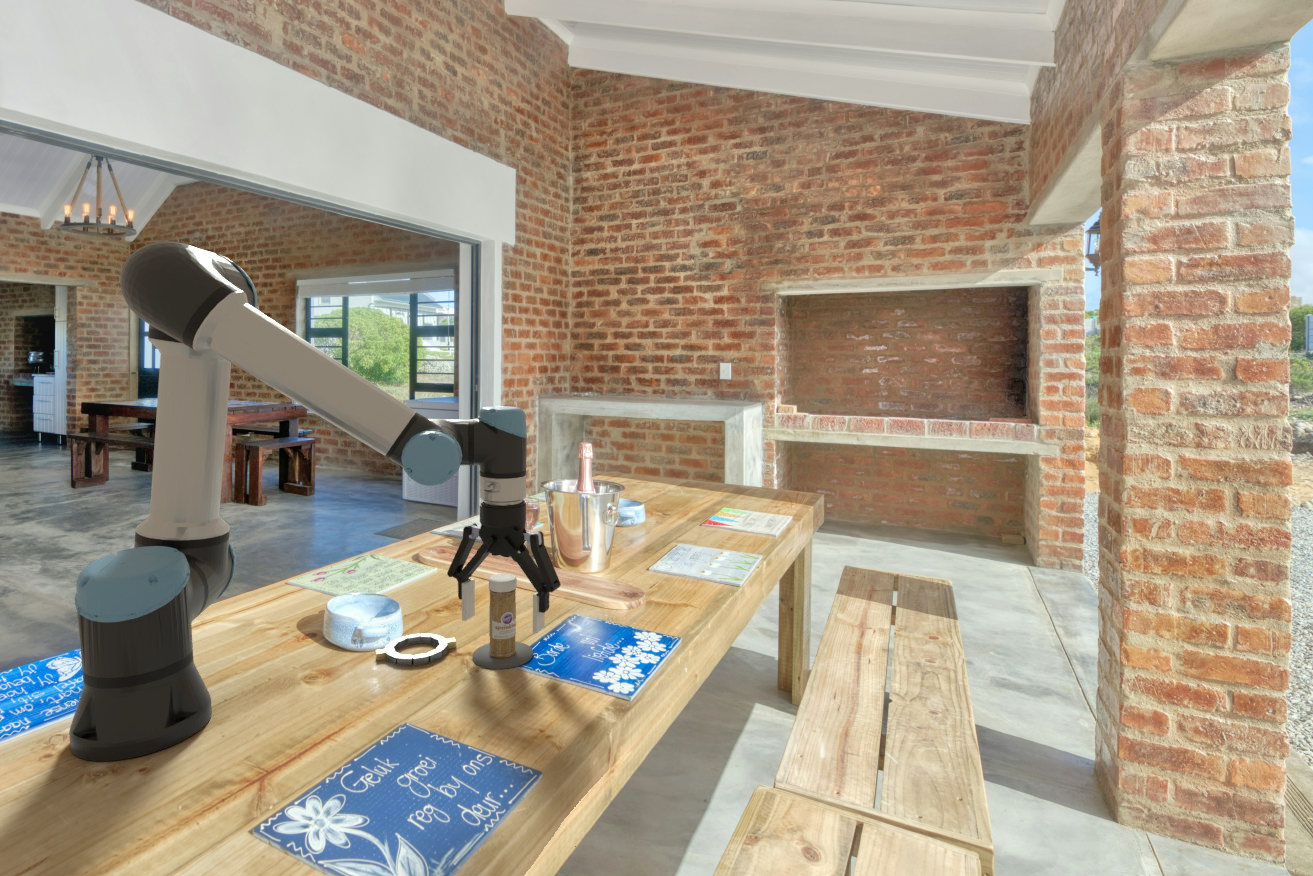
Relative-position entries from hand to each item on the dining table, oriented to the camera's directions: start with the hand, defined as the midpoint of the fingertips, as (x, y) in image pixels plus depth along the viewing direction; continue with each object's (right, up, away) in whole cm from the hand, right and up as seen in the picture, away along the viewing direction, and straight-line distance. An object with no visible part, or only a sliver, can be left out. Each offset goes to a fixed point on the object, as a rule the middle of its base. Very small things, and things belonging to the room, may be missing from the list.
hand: (502, 623), depth 115 cm
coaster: (0, -6, +1) cm, 6 cm away
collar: (-15, -5, +1) cm, 16 cm away
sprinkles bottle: (0, -5, +1) cm, 5 cm away
